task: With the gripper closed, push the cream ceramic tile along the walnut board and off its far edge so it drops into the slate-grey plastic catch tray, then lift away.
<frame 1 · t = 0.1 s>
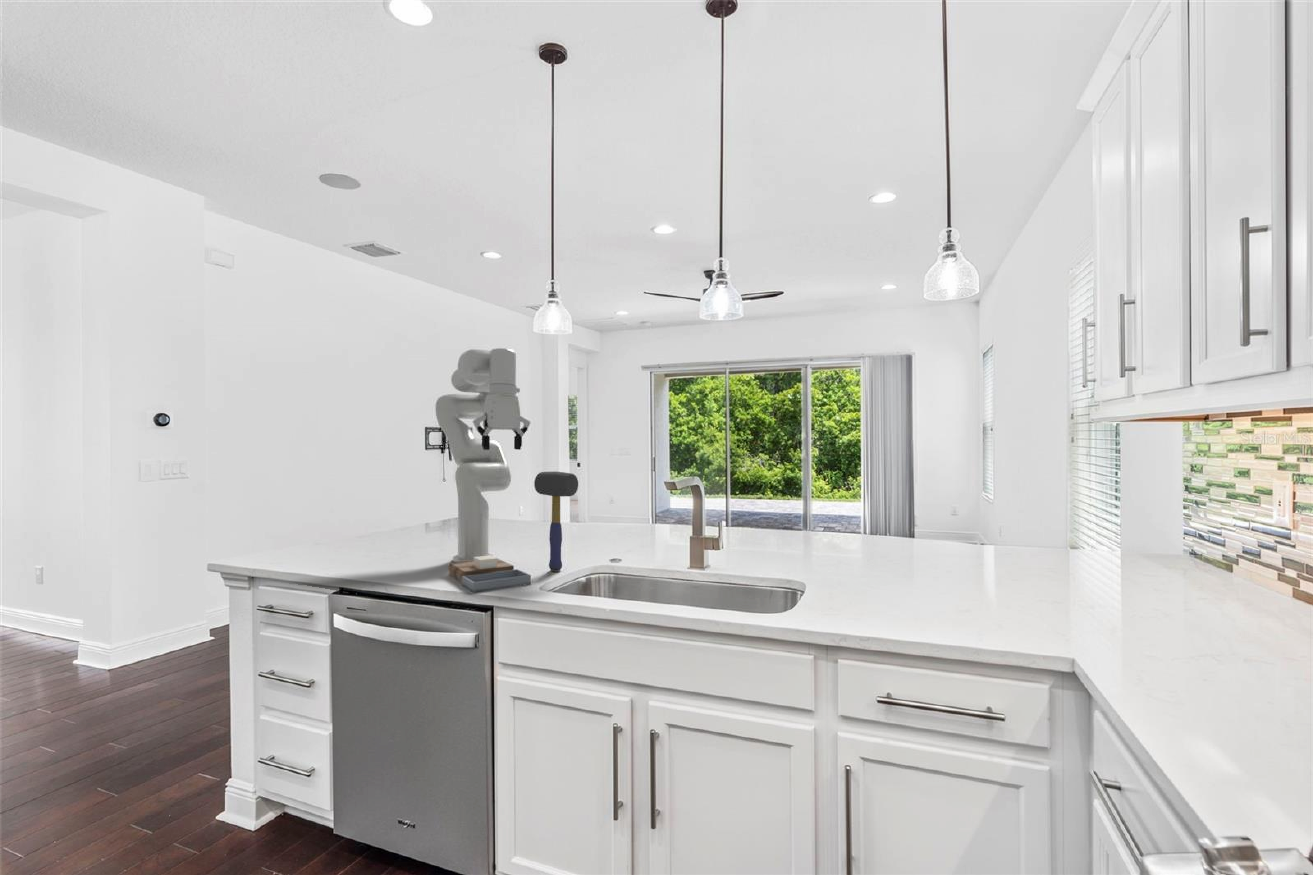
hand: (502, 449, 181), 37 cm above the worktop, tool pointing down, fingers open, 9 cm apart
walnut board: (481, 576, 178), on the worktop
cream tile: (485, 566, 175), point 3 cm above the worktop, touching walnut board
rubber mallet: (555, 571, 186), on the worktop
catch tray: (496, 584, 168), on the worktop
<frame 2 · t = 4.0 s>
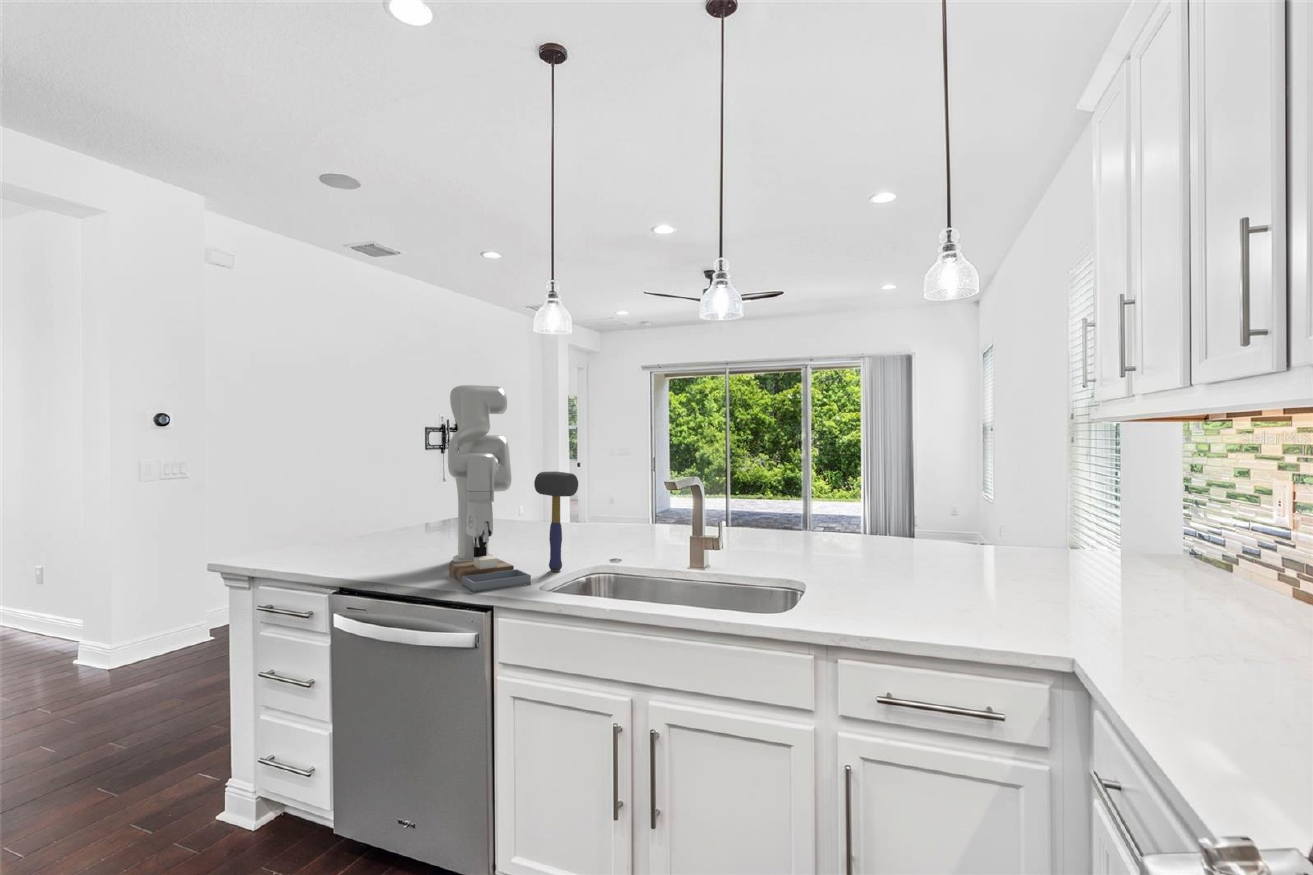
hand: (480, 560, 178), 5 cm above the worktop, tool pointing down, fingers closed
cream tile: (485, 566, 175), point 4 cm above the worktop, touching gripper, walnut board
everything else where it was.
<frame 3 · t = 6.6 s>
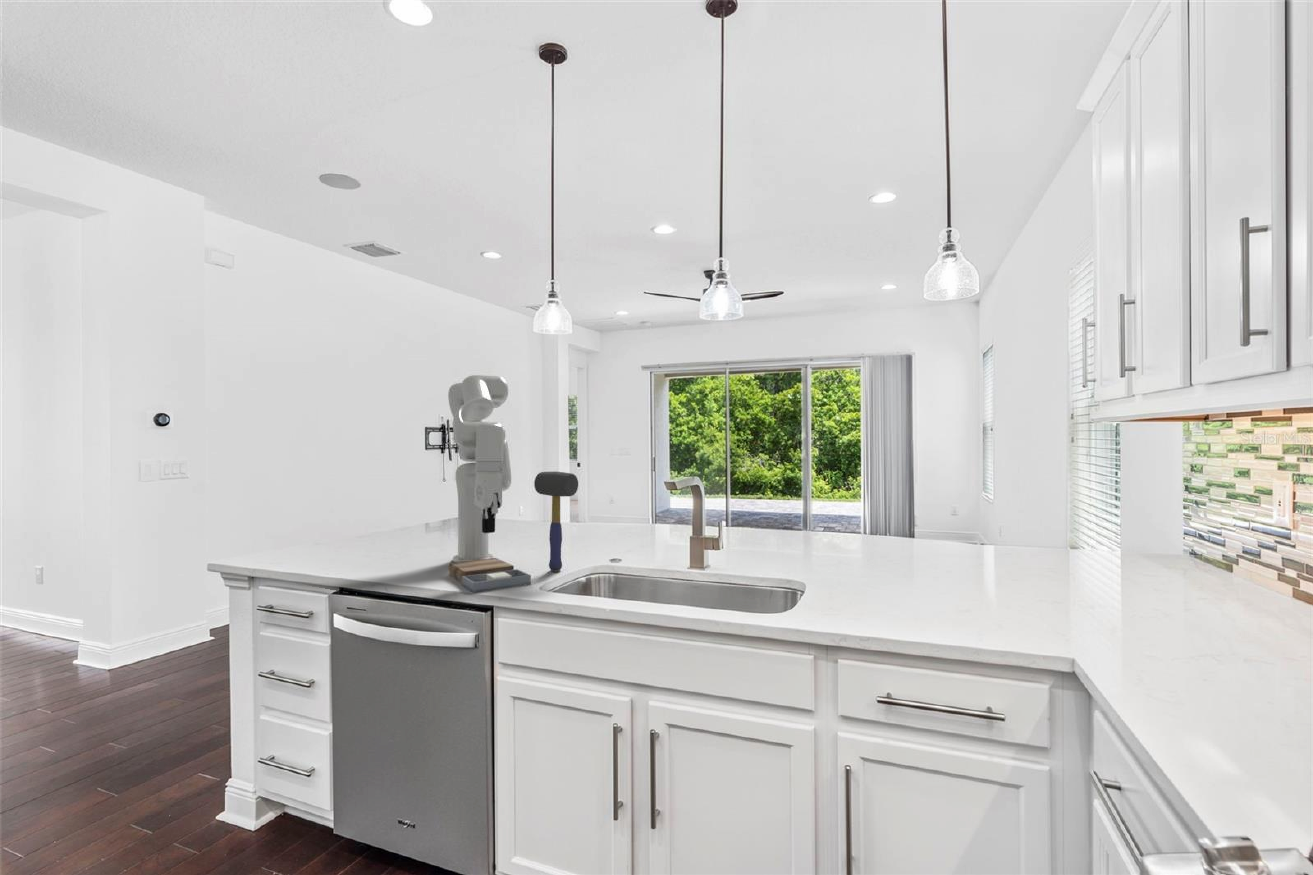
hand: (488, 532, 174), 13 cm above the worktop, tool pointing down, fingers closed
cream tile: (499, 574, 167), point 3 cm above the worktop, tilted 180°, touching catch tray
everything else where it was.
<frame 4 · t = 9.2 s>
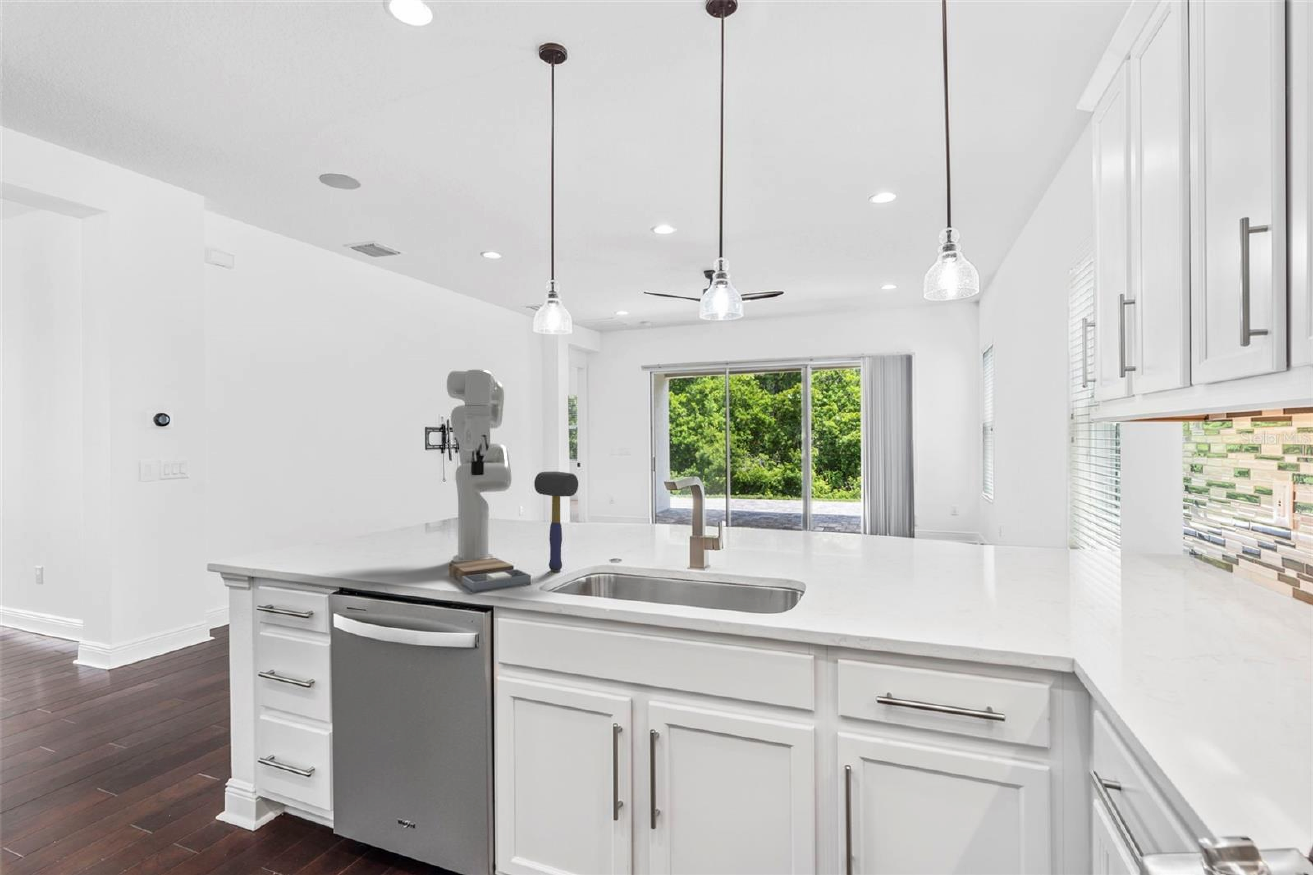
hand: (477, 474, 181), 29 cm above the worktop, tool pointing down, fingers closed
nothing on the worktop moved.
at the end: cream tile inside the target area on the catch tray (1.4 cm from its centre), point 3.0 cm above the catch tray's base; cream tile touching catch tray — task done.
